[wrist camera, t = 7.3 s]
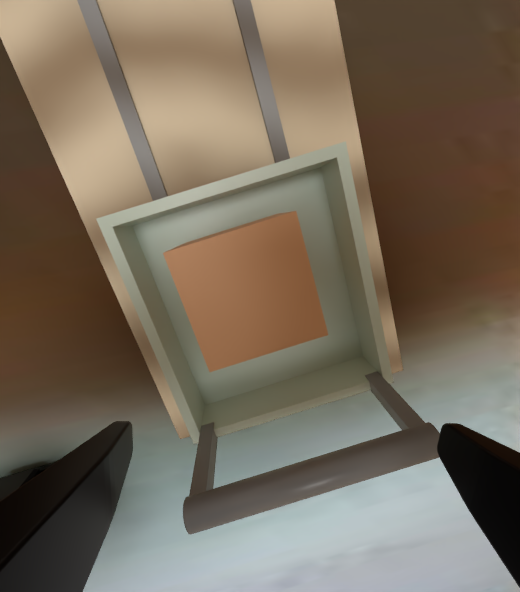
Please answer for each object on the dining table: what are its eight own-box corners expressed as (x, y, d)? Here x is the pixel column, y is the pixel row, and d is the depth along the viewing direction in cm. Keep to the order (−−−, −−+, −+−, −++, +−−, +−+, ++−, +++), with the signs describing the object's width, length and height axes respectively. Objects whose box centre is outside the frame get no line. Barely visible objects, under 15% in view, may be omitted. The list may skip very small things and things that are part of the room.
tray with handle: (363, 354, 20) (461, 458, 11) (204, 404, 20) (179, 546, 11) (319, 159, 16) (410, 95, 8) (129, 218, 16) (13, 218, 8)
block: (301, 301, 17) (328, 334, 12) (217, 328, 17) (209, 372, 12) (277, 213, 15) (296, 210, 11) (185, 242, 15) (162, 252, 11)
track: (397, 364, 21) (431, 395, 17) (182, 431, 21) (170, 475, 17) (303, -127, 14) (326, -250, 10) (-20, -27, 14) (-111, -114, 10)
